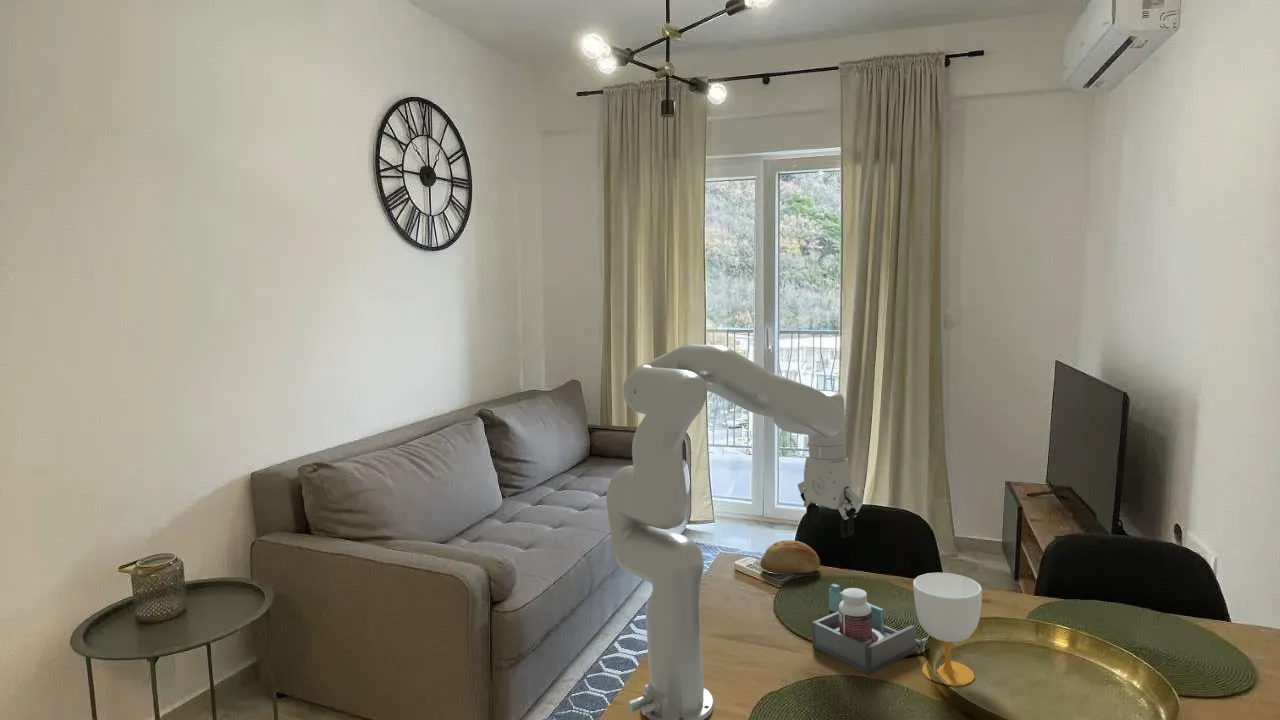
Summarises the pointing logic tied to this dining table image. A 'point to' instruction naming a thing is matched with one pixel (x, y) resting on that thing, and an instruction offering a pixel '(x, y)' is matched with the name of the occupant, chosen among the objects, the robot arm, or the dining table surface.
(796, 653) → the dining table surface
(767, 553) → the bread roll
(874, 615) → the gate
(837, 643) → the housing
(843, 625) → the pill bottle
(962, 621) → the cup
